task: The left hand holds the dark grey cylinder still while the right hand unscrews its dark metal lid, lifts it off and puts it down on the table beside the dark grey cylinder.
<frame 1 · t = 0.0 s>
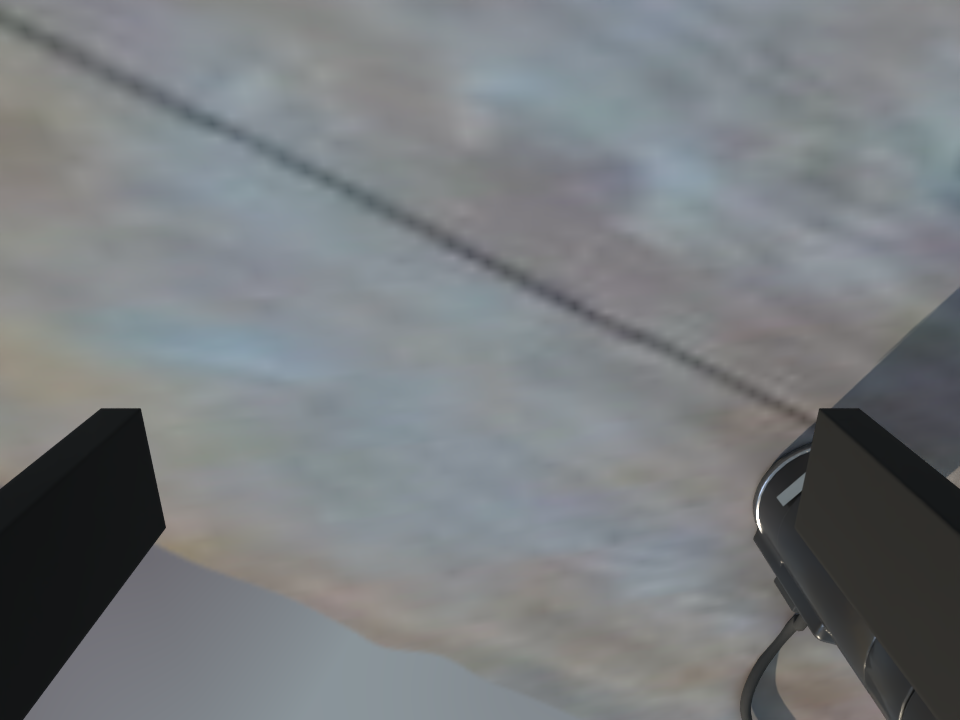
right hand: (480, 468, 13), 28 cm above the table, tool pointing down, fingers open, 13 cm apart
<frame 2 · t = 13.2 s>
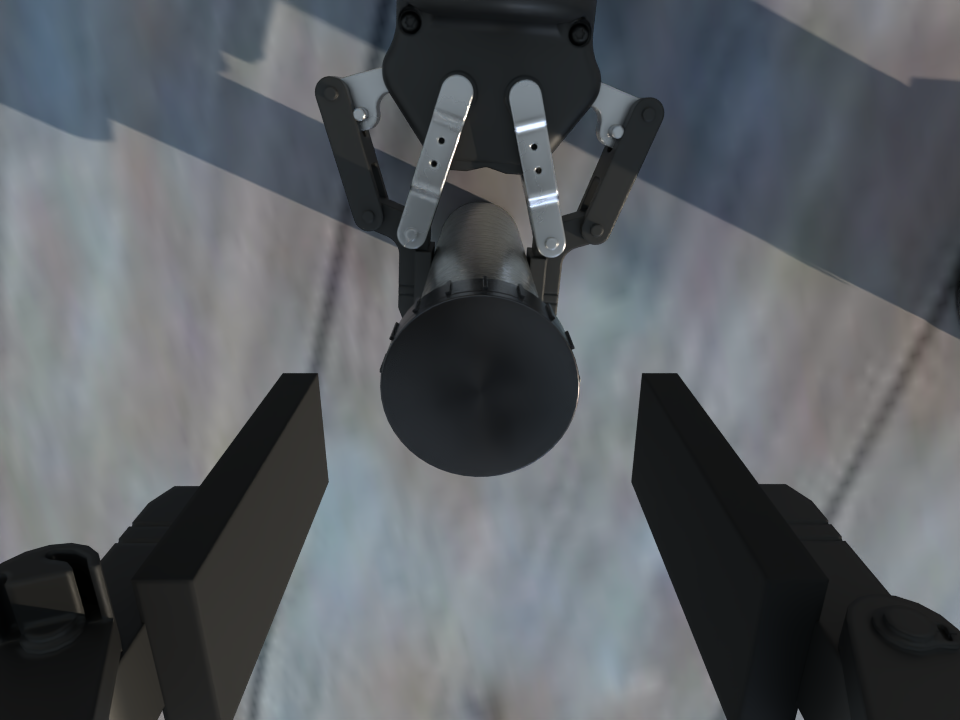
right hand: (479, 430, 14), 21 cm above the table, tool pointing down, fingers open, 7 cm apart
left hand: (475, 328, 29), fingers closed on dark grey cylinder, 4 cm apart
lid: (479, 385, 17), point 19 cm above the table, screwed on, not yet turned
dark grey cylinder: (479, 242, 34), on the table, touching left hand
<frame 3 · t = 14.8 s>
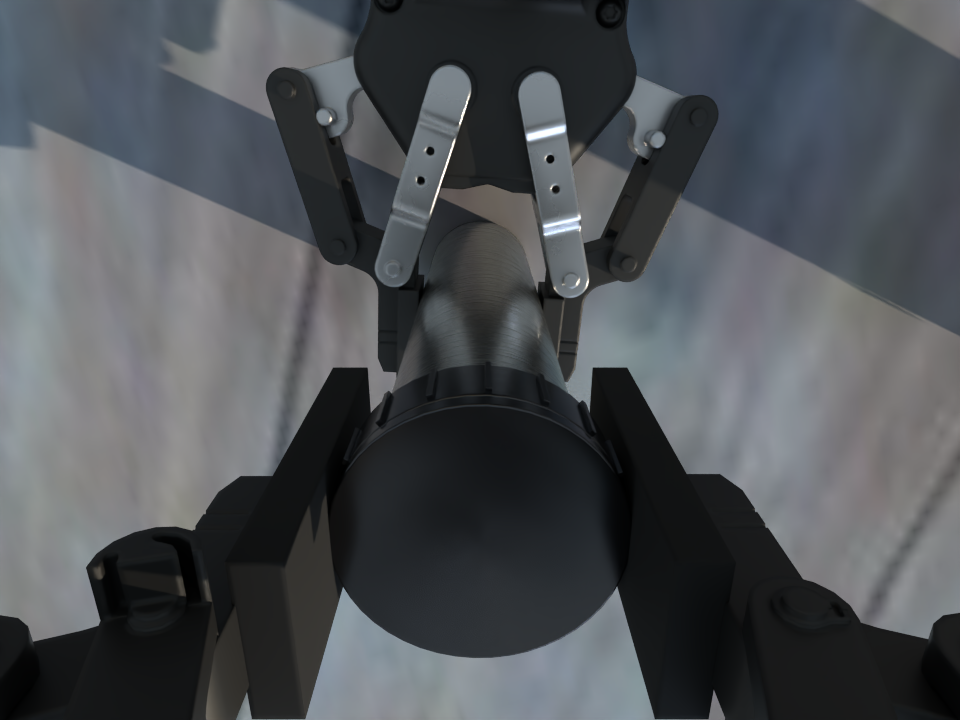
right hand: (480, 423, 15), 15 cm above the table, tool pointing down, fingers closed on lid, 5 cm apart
left hand: (474, 381, 24), fingers closed on dark grey cylinder, 4 cm apart
lid: (480, 529, 11), point 19 cm above the table, screwed on, not yet turned, touching right hand
dark grey cylinder: (479, 269, 28), on the table, touching left hand
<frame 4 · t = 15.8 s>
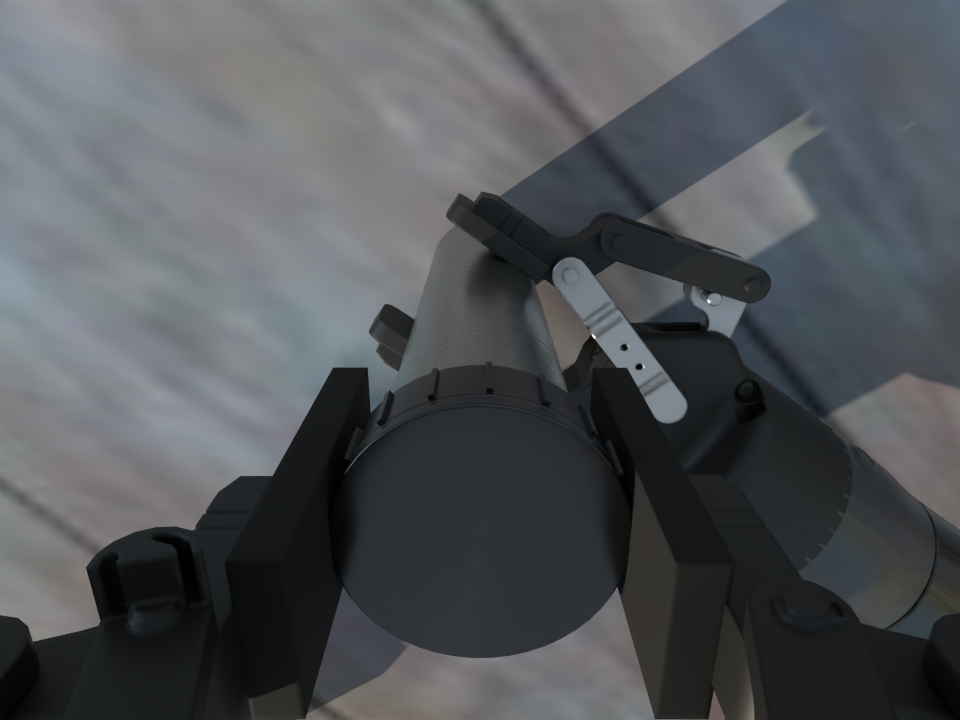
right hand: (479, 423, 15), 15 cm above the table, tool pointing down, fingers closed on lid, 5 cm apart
lid: (480, 529, 11), point 19 cm above the table, turned 121° so far, risen 0.3 cm, still on its thread, touching right hand
dark grey cylinder: (480, 267, 29), on the table, touching left hand
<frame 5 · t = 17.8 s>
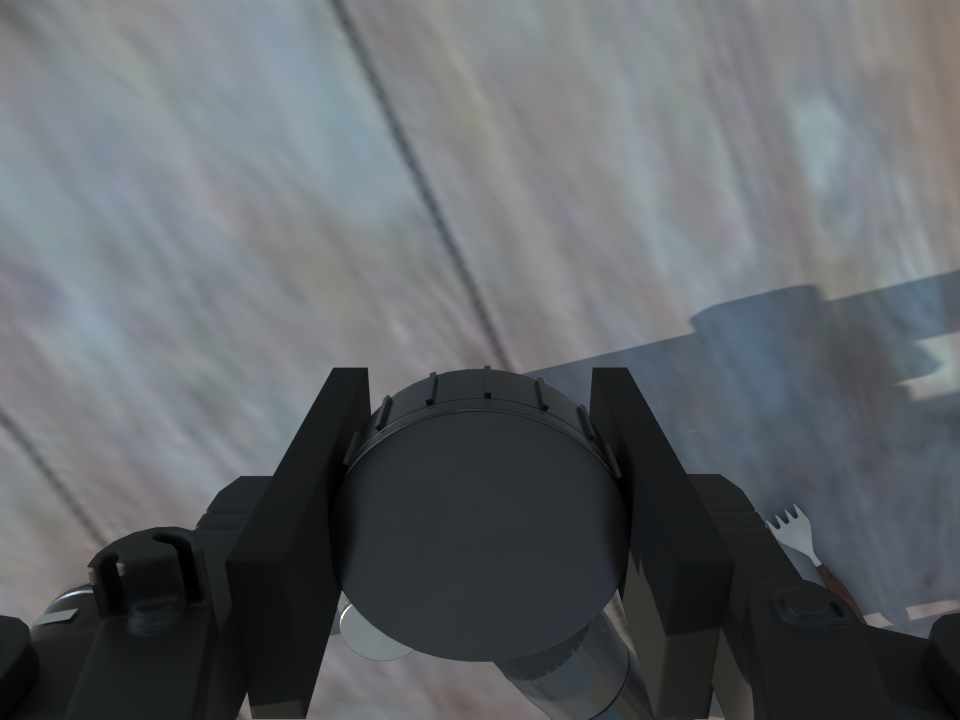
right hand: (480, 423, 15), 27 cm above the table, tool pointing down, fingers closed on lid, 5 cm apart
fork: (821, 568, 48), on the table
lid: (479, 533, 11), point 31 cm above the table, off its thread, touching right hand
dark grey cylinder: (420, 427, 44), on the table, touching left hand
when the right hand's fingers open (0 cm above the table, at t = 21.7 s): lid drops 3 cm, point 1 cm above the table.
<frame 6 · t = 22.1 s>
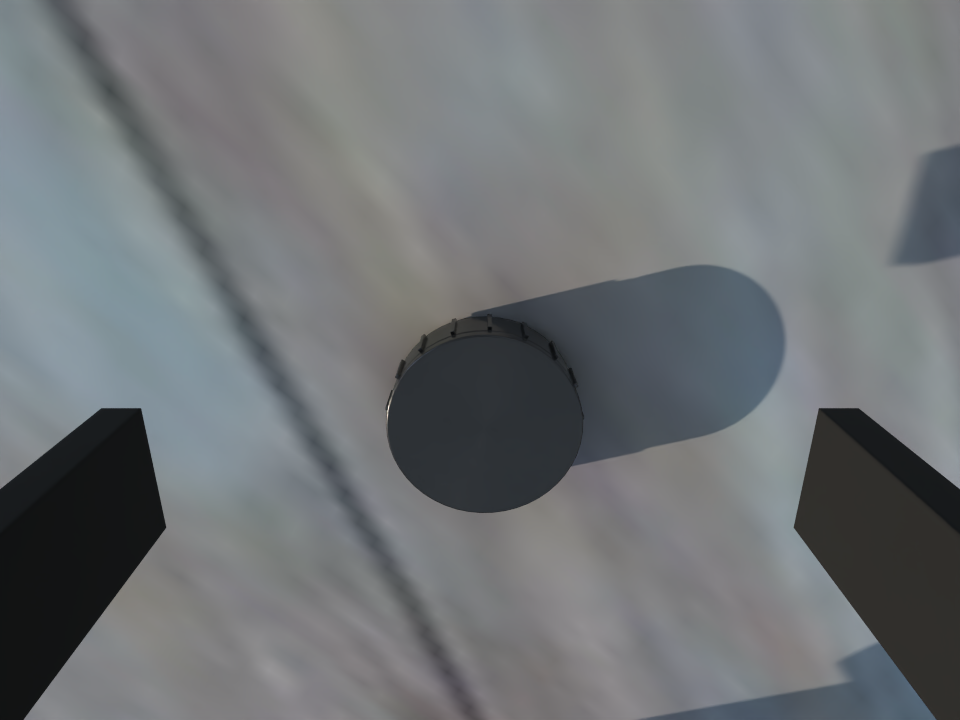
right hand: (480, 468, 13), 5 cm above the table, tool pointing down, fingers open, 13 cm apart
lid: (484, 422, 17), point 1 cm above the table, off its thread
when the left hand's fingers open (6 cm above the table, at t = 22.3 s): dark grey cylinder stays where it is, on the table.
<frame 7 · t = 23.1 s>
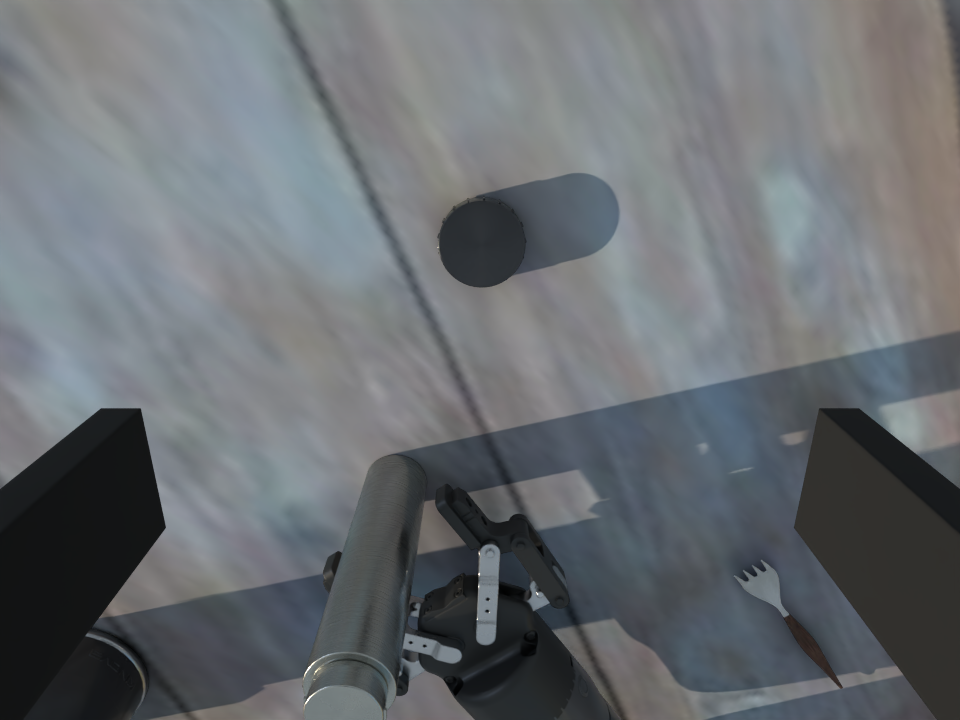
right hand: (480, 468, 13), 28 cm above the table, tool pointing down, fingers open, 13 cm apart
left hand: (384, 528, 39), fingers open, 8 cm apart
fork: (789, 617, 49), on the table
lid: (481, 244, 38), point 1 cm above the table, off its thread
dark grey cylinder: (396, 481, 45), on the table
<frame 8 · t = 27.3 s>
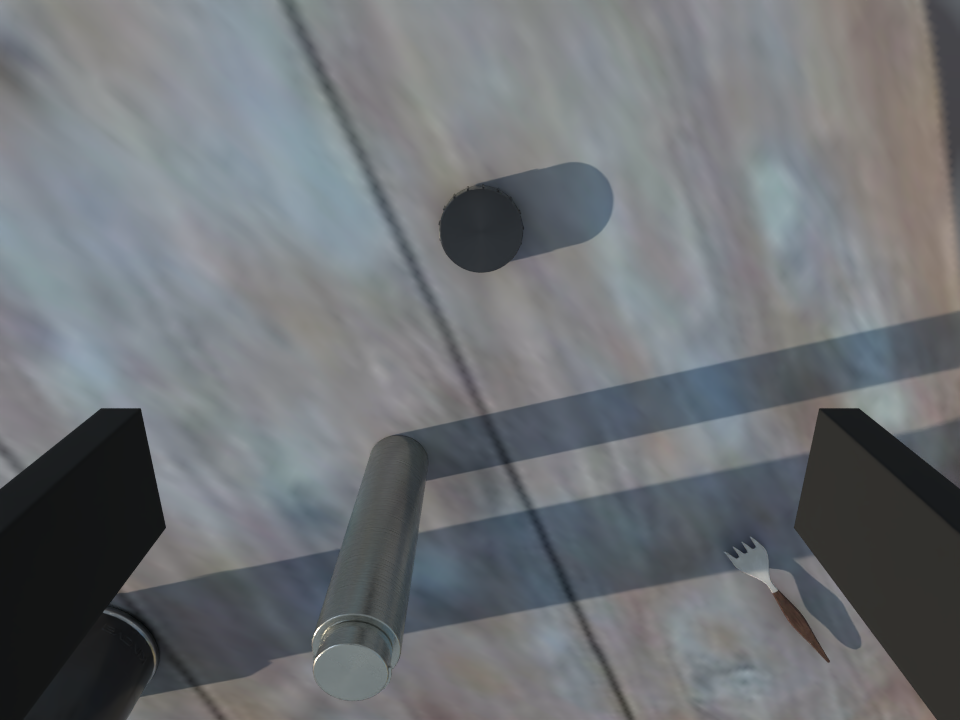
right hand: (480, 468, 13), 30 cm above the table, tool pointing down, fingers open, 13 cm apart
fork: (777, 593, 51), on the table
lid: (481, 230, 39), point 1 cm above the table, off its thread
dark grey cylinder: (399, 460, 47), on the table
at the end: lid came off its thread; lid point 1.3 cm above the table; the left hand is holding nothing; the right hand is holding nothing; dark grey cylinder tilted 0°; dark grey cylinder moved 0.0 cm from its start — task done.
